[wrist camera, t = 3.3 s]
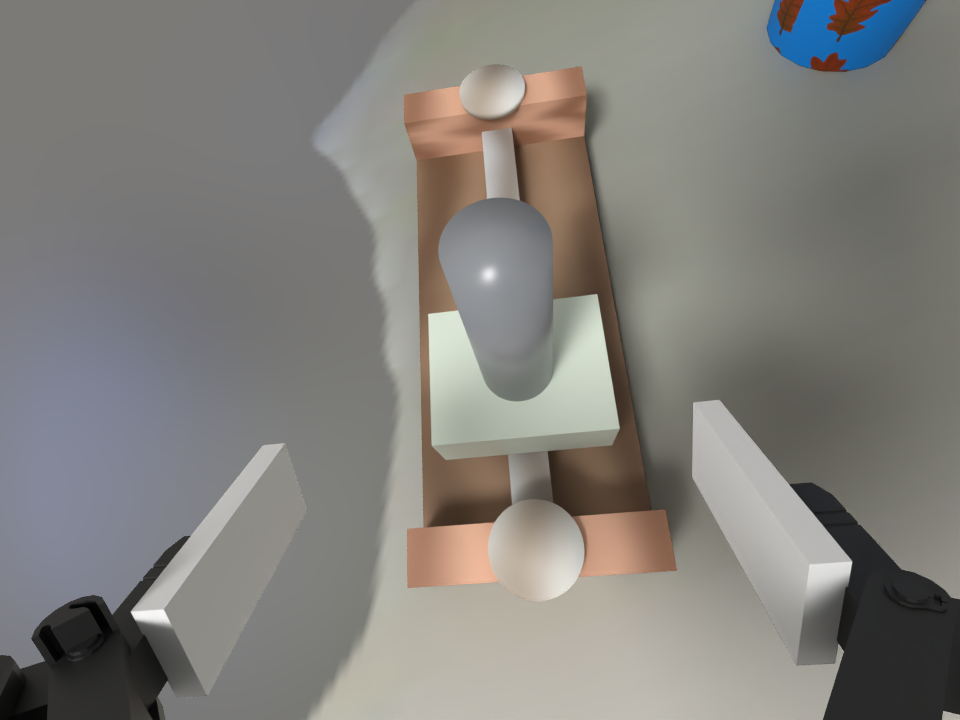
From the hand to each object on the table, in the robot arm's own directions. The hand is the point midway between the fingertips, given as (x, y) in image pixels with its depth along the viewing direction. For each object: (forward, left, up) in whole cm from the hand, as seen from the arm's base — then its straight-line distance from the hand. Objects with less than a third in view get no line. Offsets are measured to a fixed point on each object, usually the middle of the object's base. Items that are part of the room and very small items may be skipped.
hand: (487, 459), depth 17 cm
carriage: (-1, -7, -15) cm, 16 cm away
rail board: (-1, -14, -19) cm, 24 cm away
